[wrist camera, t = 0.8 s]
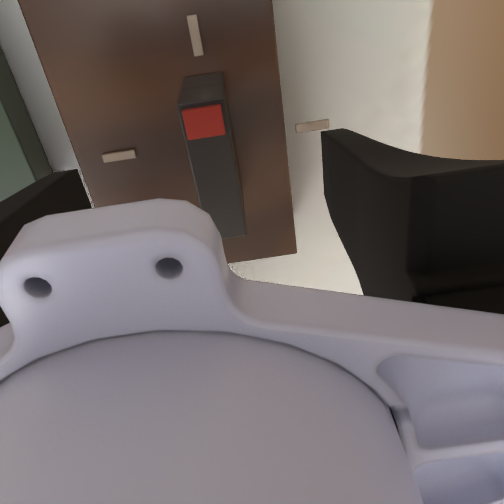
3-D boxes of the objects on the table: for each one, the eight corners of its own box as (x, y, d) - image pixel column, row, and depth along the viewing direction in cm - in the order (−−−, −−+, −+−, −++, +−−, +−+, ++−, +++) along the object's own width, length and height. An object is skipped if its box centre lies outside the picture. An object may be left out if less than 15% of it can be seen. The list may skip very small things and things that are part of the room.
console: (322, 218, 26) (334, 250, 23) (130, 247, 26) (121, 281, 24) (306, -61, 19) (321, -61, 16) (39, -18, 19) (11, -10, 16)
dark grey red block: (243, 195, 21) (247, 239, 18) (208, 200, 21) (207, 245, 18) (222, 70, 18) (223, 98, 15) (182, 77, 18) (175, 106, 15)
